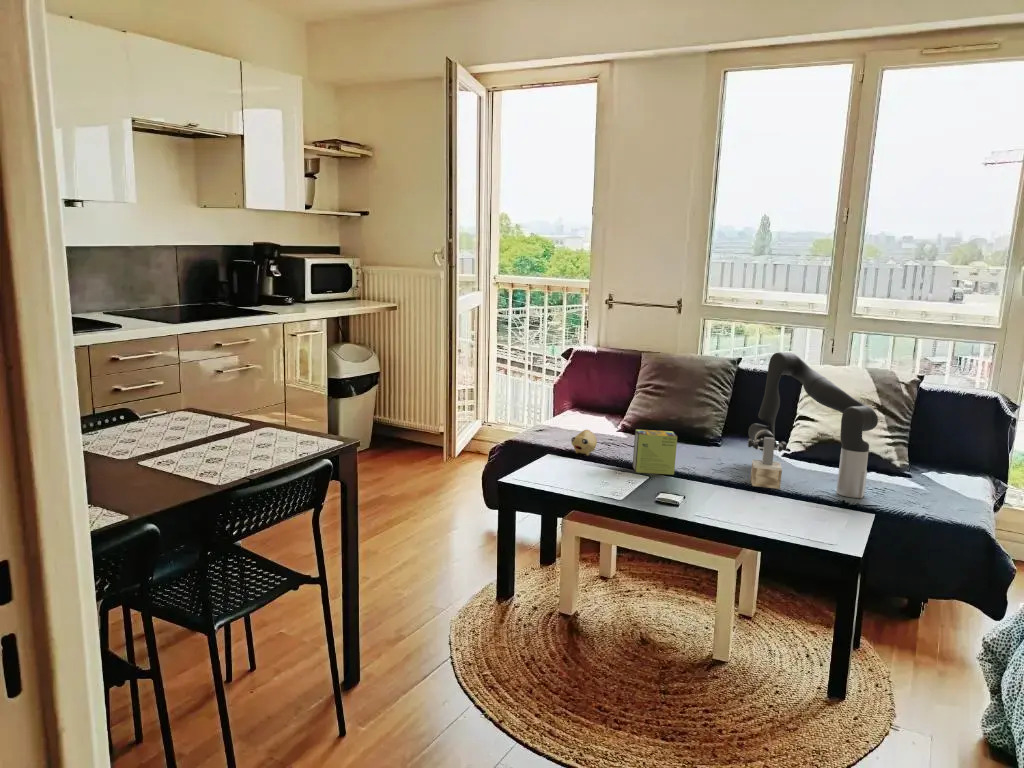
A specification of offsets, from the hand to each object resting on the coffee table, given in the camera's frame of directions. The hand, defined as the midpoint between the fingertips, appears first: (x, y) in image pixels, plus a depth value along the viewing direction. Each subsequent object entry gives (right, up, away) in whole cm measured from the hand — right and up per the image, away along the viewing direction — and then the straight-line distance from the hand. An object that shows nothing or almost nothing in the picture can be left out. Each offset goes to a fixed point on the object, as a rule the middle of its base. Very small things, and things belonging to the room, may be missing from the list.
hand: (768, 448), depth 294 cm
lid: (-1, -8, 0) cm, 9 cm away
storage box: (-1, -14, +1) cm, 14 cm away
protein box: (-42, -10, +13) cm, 45 cm away
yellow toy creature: (-68, -6, +36) cm, 77 cm away
